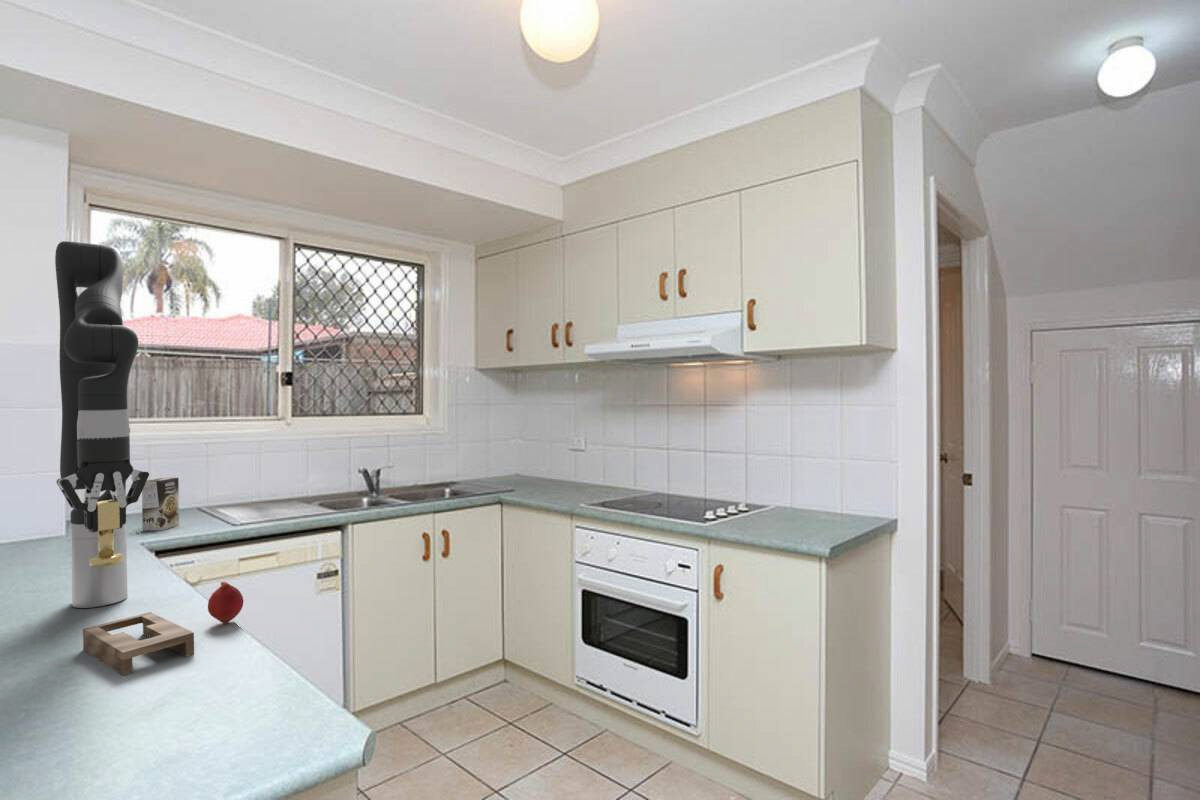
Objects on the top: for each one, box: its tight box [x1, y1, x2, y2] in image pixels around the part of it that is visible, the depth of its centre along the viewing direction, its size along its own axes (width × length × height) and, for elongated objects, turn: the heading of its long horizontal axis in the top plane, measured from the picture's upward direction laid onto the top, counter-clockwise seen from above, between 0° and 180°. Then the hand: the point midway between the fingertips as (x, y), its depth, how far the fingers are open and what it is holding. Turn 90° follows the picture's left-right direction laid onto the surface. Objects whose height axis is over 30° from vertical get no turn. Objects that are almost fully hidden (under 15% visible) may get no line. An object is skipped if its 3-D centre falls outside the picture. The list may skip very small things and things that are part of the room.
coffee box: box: [141, 477, 180, 532], centre depth 212 cm, size 9×6×16 cm
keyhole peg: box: [90, 500, 123, 567], centre depth 117 cm, size 5×5×11 cm
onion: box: [207, 580, 244, 624], centre depth 122 cm, size 6×6×8 cm
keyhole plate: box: [82, 611, 195, 676], centre depth 109 cm, size 18×10×4 cm, turn 54°
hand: (105, 529), depth 117 cm, fingers closed on keyhole peg, 3 cm apart
